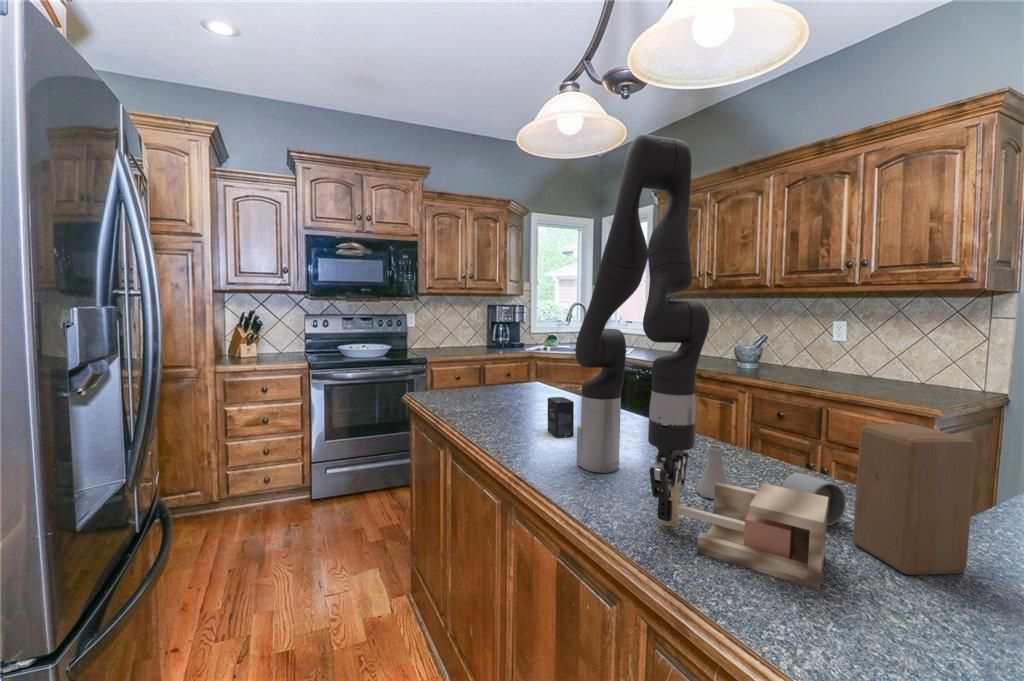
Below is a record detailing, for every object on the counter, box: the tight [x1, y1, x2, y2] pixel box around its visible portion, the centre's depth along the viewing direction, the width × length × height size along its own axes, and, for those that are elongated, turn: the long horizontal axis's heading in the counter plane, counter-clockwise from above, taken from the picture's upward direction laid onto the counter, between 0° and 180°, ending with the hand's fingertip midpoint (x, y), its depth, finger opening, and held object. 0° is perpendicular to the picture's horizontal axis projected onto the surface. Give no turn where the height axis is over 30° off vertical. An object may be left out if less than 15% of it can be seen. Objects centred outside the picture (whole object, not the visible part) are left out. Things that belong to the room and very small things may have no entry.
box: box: [547, 396, 575, 438], centre depth 141 cm, size 8×6×11 cm
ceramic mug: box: [780, 472, 846, 527], centre depth 86 cm, size 11×8×8 cm
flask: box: [694, 444, 730, 500], centre depth 96 cm, size 7×7×10 cm
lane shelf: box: [696, 482, 828, 591], centre depth 72 cm, size 16×11×10 cm
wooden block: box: [852, 423, 977, 576], centre depth 71 cm, size 10×10×20 cm
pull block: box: [657, 479, 795, 559], centre depth 76 cm, size 20×6×7 cm, turn 53°
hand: (668, 515), depth 81 cm, fingers closed on pull block, 3 cm apart
